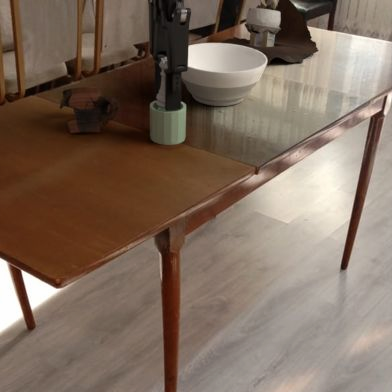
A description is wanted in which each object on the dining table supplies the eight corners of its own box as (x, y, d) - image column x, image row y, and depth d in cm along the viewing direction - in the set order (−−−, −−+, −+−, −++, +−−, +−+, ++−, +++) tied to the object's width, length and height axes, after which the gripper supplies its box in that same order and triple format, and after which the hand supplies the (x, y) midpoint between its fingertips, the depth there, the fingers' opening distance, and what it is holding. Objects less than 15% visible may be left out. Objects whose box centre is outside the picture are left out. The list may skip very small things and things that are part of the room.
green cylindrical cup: (157, 147, 114) (157, 114, 111) (145, 133, 119) (144, 101, 115) (190, 142, 117) (191, 109, 113) (177, 128, 121) (177, 97, 117)
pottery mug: (54, 136, 118) (48, 89, 116) (78, 140, 126) (73, 97, 125) (112, 127, 114) (106, 79, 112) (132, 133, 123) (128, 88, 121)
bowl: (217, 75, 145) (219, 37, 139) (282, 99, 135) (287, 59, 129) (154, 94, 134) (153, 54, 129) (219, 122, 124) (222, 79, 119)
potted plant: (215, 59, 161) (230, -55, 151) (267, 66, 173) (283, -38, 163) (270, 65, 148) (290, -58, 138) (321, 73, 159) (343, -40, 149)
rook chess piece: (163, 99, 116) (163, 53, 111) (184, 103, 115) (185, 57, 109) (151, 107, 113) (150, 60, 108) (173, 111, 112) (173, 64, 106)
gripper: (213, -36, 93) (206, 119, 109) (170, -57, 105) (168, 85, 121) (167, -34, 91) (166, 124, 106) (127, -56, 103) (132, 90, 118)
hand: (167, 103), depth 114 cm, fingers closed on rook chess piece, 4 cm apart
